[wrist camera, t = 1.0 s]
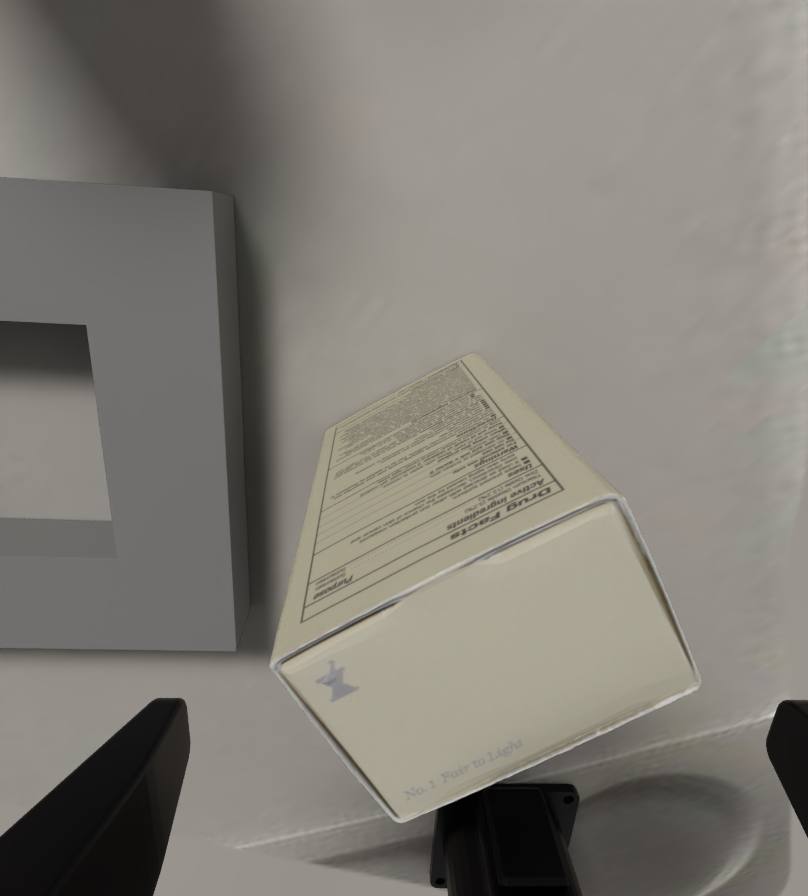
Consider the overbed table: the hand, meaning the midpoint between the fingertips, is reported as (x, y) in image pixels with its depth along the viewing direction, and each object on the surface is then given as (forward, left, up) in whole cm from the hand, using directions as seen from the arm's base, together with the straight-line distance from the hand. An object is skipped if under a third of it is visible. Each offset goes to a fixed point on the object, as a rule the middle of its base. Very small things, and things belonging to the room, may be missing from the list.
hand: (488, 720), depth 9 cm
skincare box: (0, 0, -13) cm, 13 cm away
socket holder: (0, +14, -13) cm, 19 cm away
